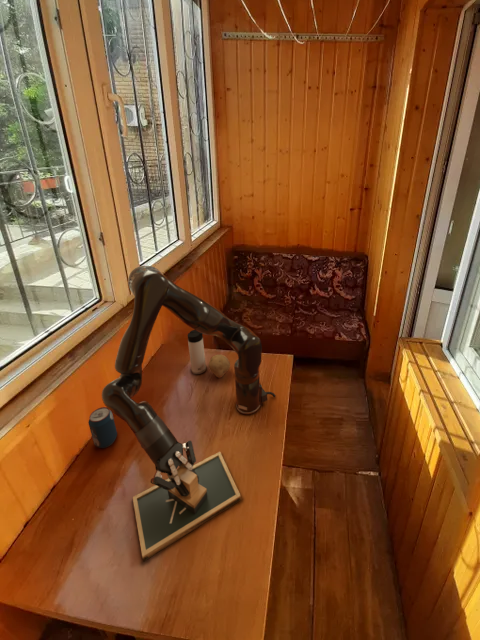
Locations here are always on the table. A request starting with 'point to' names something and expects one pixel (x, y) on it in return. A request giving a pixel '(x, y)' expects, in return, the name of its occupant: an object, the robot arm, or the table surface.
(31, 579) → the table surface
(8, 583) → the table surface
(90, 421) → the soda can
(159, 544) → the chalkboard
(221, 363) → the natural sponge
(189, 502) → the eraser
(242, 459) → the table surface
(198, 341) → the travel mug
